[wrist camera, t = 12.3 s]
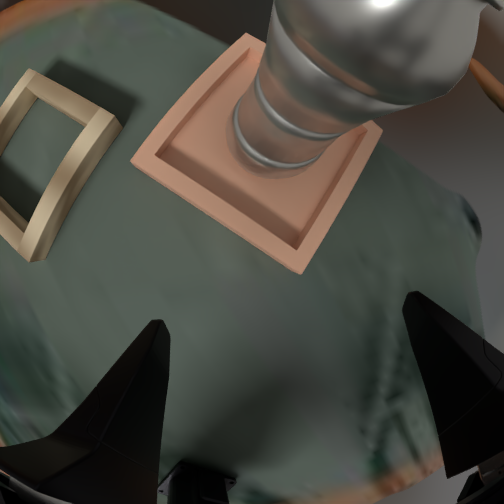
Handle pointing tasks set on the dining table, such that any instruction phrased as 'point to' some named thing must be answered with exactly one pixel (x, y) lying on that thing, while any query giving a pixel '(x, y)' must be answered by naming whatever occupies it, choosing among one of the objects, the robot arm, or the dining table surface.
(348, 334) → the dining table surface
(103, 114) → the collar
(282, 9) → the plastic bottle
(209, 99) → the tray
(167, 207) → the dining table surface
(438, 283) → the dining table surface
